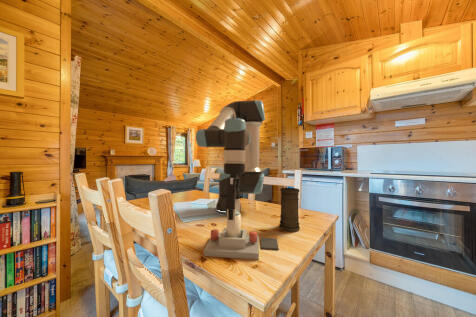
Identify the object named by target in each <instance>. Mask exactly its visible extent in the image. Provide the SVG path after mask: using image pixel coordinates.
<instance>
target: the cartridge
mask: <svg viewBox="0 0 476 317" xmlns="http://www.w3.org/2000/svg"><path fill="white" fill-rule="evenodd" d="M241 227H242V214H241V211H240V212H239V211H236V213H235V230H233V229H227V237H235V238H241V229H242V228H241Z"/></svg>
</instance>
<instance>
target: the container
mask: <svg viewBox="0 0 476 317" xmlns="http://www.w3.org/2000/svg"><path fill="white" fill-rule="evenodd" d="M279 191H280V220H279V228H280V229H281V230H282V231H286V232H290V233H291V232H292V233H293V232H294V233H295V232H298V231H300V229H301V228H300V222H299V219H300V217H299V200H300V199H299V195H300V189H299V188H294V187H280V190H279Z"/></svg>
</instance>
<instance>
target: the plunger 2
mask: <svg viewBox="0 0 476 317" xmlns="http://www.w3.org/2000/svg"><path fill="white" fill-rule="evenodd" d="M248 234H249V241H250V242H252V243H255V242H257V235H258V232H256V231H250V232H248Z"/></svg>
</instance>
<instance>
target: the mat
mask: <svg viewBox="0 0 476 317" xmlns="http://www.w3.org/2000/svg"><path fill="white" fill-rule="evenodd" d="M260 240H261V241H260V243H261V244H260V245H261V250H272V251H274V250H275V251H279V250H280V249H279V244H278V239H277V237H276V238H275V237H274V238H273V237H261V238H260Z"/></svg>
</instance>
